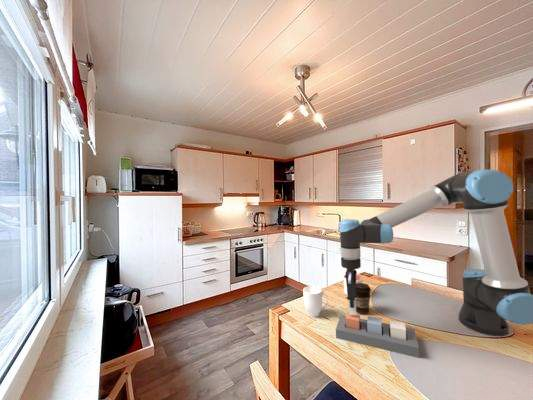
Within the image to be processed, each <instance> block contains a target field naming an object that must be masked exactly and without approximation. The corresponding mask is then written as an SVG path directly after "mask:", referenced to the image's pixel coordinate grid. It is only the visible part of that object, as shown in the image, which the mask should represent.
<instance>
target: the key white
mask: <svg viewBox="0 0 533 400" xmlns="http://www.w3.org/2000/svg"><path fill="white" fill-rule="evenodd" d="M389 324H390V335H391V337H393V338H398V339H403V340H406V328H405V327H406V324H405V322H403V321H397V320H389Z"/></svg>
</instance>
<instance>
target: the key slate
mask: <svg viewBox="0 0 533 400" xmlns="http://www.w3.org/2000/svg"><path fill="white" fill-rule="evenodd" d="M366 320H367V332H370V333H375V334H379V335H382V323H383V322H382V318H380V317H375V316H370V315H367V319H366Z"/></svg>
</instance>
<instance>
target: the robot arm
mask: <svg viewBox="0 0 533 400" xmlns="http://www.w3.org/2000/svg"><path fill="white" fill-rule="evenodd" d="M513 192H514V183H513V181H512V179H511V177H509V176H508V175H507V173H504V172H502V171H500V170H497V169H484V168H483V169H477V170H472V171H467V172H465V171H464V172H459V173H457V174H455V175H454V174H453V175H452V176H450V177H448V178H446V179H445V180H443V181H440V182H439V183H437V184H435V185H433V186H431V188H430V190H428V191H426V192H423V193H421V194H420V195H418V196H415V197H413V198H411V199H409V200H407V201H404V202H402V203H401V204H399V205H395V206H394V207H392V208H390V209H387V210H385V211H384V212H381V213H380V214H378V215H375V216H373V217H371V218H367V219H363V220H361V221H360V220H359V219H349V218H347V219H342V220H341V221H340V223H339V239H340V248H339V249H338V250H339V251H340V256H341V257H340V265H341V268H344V269H346V271H345V275H346V283H347V295H348V296H347V295H346V300H348V312H349V314H351V315H356V314H357V312H356V298H358V296H357V295H356V275H358V272H357V270H359V269H360V268H361V267H362V263H361V261H362V260H361V244H382V245H383V244H391V243H392V242H393V240H394V230H393V228H395V227H396V226H397V227H398V226H399V225H402V224H403V223H406V222H408V221H410V220H412V219H414V218H417V217H419V216H421V215H424V214H425V213H426V214H427V213H428V212H430V211H433V210H435V209H436V208H437V209H438V208H439V207H441V206H443V207H447V206H448V205H449V206H450V205H452V204H456V203H461V202H462V205H463V206H462V207H463V209H464V211H466V212H468V213H470V216H471V220H472V224H473V228H474V232H475V237H476V241H477V244H478V248H479V254H480V257H481V262H482V265H483V269H479V268H467V269H464V270H462V277H461V278H462V293H463V295H462V297H463V304H462V306H461V308H460V310H459V312H458V321H459V322H460V324H462V325H463V326H465V327H466V328H468V329H470V330H473V331H475V332H478V333H481V334H484V335H488V336H495V337H503V336H504V337H505V336H507V335H508V334H509V333H510V328H509V327H510V326H509V324H508V322H509V323H512V324H514V325H519V326H527V325H531V324H533V294H532V293H531V291H530V287H529V282H528V280H526V279H524V278H523V277H521V276H520V272H519V269H518V263H517V260H516V259H517V258H516V256H515V253H514V248H513V244H512V240H511V236H510V231H509V227H508V224H507V223H508V222H507V219H506V215H505V211H504V210H505V209H506V208H508V206H509V202H508V199H510V198H511V195H512V194H513Z"/></svg>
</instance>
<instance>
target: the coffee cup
mask: <svg viewBox="0 0 533 400" xmlns="http://www.w3.org/2000/svg"><path fill="white" fill-rule="evenodd" d="M371 290H372V289H371V287H370V285H369V284H367V283H363V282H362V283H356V295H357V296H358V298H356V314H359V315H369V314H370V302H371V301H370V298H371V296H370V295H371Z"/></svg>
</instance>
